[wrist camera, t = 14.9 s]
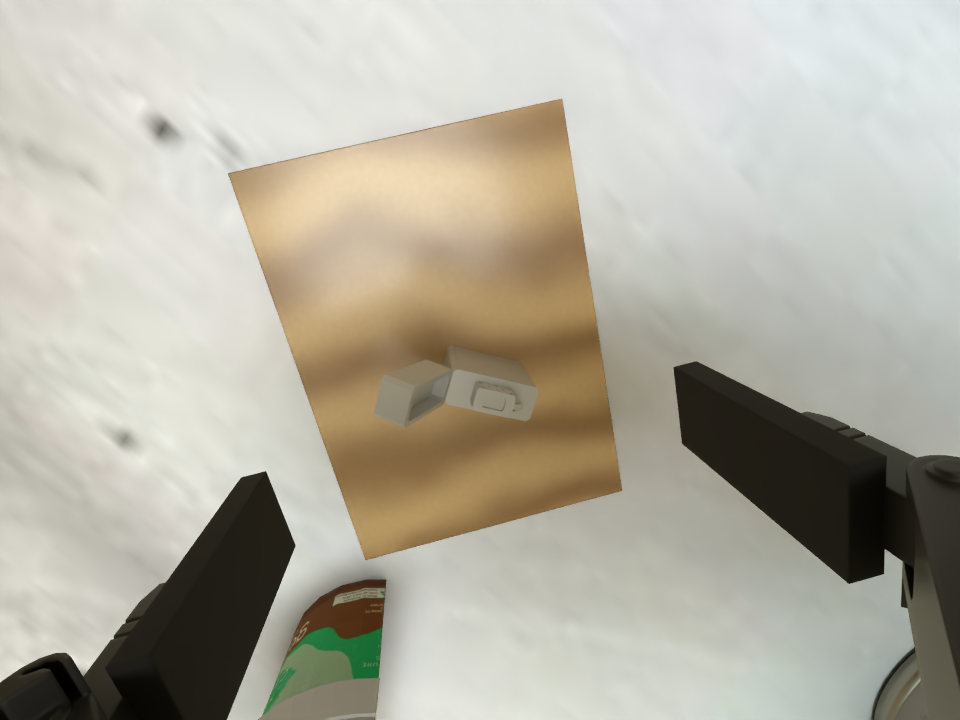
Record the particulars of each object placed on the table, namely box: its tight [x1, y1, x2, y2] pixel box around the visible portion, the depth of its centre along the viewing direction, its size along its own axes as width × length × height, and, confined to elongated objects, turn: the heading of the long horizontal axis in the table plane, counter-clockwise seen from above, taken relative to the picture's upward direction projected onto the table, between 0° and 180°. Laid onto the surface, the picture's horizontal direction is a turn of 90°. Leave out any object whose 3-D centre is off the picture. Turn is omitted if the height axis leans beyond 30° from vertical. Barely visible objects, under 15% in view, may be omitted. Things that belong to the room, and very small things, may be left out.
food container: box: [258, 580, 386, 720], centre depth 26 cm, size 12×6×10 cm, turn 169°
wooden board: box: [228, 99, 622, 560], centre depth 26 cm, size 22×16×1 cm
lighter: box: [374, 346, 539, 428], centre depth 22 cm, size 7×2×8 cm, turn 74°
